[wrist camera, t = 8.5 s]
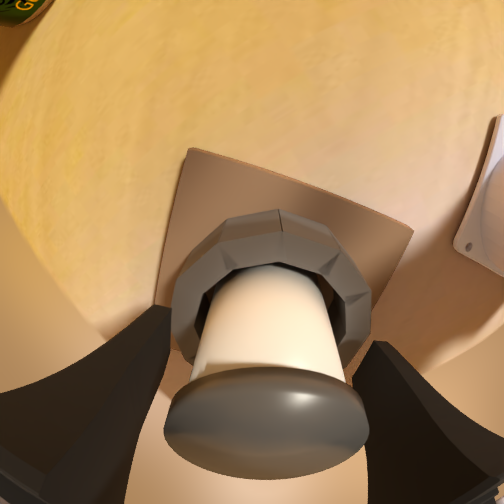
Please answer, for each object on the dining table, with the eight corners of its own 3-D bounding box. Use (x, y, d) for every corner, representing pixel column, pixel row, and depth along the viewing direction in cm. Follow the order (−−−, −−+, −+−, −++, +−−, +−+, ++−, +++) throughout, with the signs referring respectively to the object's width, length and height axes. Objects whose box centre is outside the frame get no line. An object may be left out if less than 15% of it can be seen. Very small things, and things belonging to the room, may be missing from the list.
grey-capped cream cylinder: (338, 247, 11) (407, 395, 5) (307, 338, 14) (326, 480, 7) (216, 226, 11) (154, 373, 5) (206, 324, 13) (170, 466, 7)
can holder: (406, 224, 12) (442, 254, 9) (319, 374, 16) (326, 418, 13) (193, 147, 11) (167, 154, 8) (153, 331, 15) (134, 373, 12)
